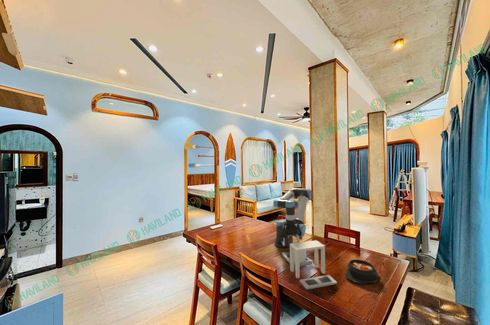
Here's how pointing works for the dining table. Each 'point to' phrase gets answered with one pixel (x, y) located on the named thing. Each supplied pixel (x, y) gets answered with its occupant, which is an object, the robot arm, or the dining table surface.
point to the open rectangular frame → (319, 280)
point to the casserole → (361, 272)
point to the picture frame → (304, 263)
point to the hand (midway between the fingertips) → (290, 244)
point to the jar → (300, 255)
